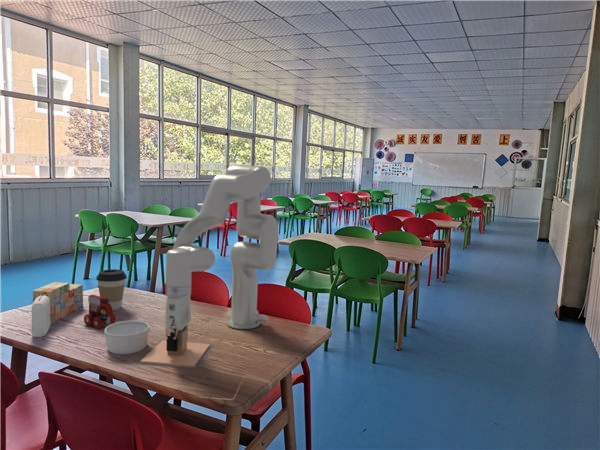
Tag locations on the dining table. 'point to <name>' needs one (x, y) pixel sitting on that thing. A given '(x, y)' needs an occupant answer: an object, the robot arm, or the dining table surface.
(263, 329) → the dining table surface
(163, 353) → the cover
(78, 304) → the stack of blocks
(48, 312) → the photo printer
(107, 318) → the toy fire truck
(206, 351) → the mat
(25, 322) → the dining table surface
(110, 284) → the coffee cup
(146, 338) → the ramekin
